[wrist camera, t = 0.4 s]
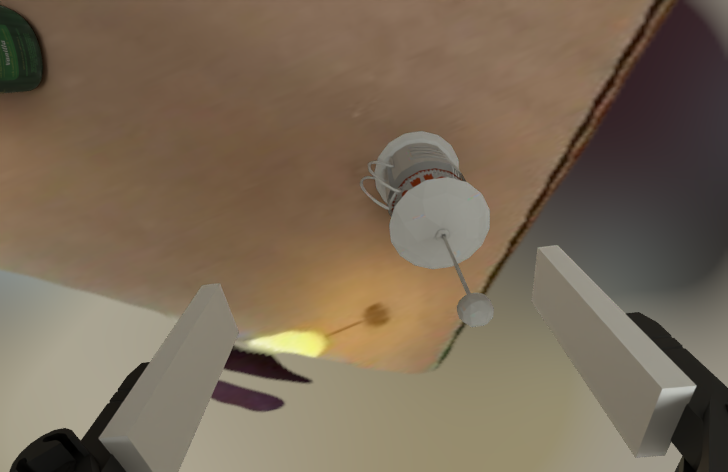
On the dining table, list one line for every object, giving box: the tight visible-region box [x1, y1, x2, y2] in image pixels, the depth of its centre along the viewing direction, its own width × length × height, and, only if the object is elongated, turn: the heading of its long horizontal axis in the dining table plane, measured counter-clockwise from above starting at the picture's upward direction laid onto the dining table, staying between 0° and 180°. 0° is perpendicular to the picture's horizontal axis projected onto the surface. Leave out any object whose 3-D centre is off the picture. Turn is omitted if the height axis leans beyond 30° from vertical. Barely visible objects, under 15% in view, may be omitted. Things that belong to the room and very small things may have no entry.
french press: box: [360, 131, 494, 327], centre depth 29 cm, size 10×12×25 cm
